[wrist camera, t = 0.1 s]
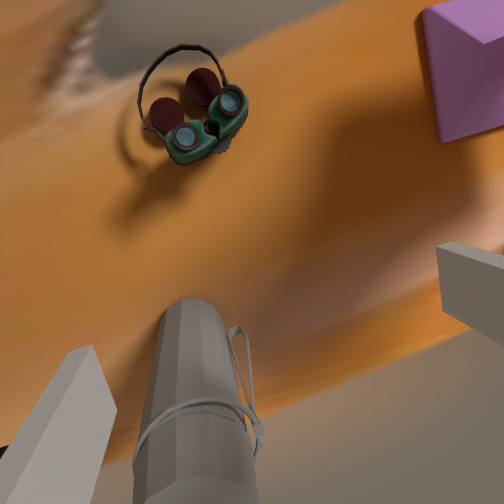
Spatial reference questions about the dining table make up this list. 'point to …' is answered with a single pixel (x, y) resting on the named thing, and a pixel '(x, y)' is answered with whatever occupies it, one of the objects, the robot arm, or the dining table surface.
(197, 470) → the water bottle
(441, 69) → the purple table lamp
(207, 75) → the binoculars
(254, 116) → the dining table surface
